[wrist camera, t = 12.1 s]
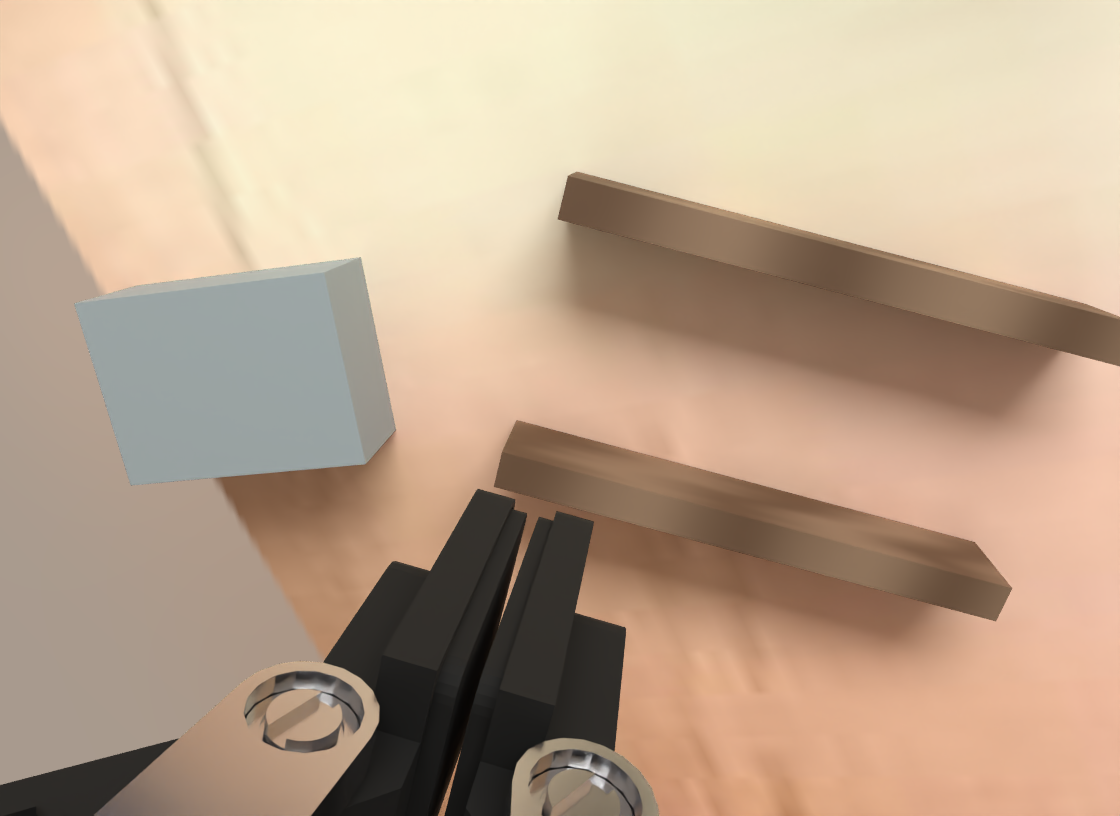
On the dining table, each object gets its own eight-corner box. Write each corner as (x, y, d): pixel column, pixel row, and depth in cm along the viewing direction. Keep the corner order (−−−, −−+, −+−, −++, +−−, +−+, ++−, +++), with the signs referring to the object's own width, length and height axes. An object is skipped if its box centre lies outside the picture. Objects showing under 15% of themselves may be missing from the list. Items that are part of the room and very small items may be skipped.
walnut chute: (1085, 304, 25) (1141, 325, 22) (960, 572, 28) (995, 621, 25) (577, 171, 25) (568, 175, 22) (509, 451, 28) (494, 486, 26)
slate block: (363, 256, 27) (323, 272, 24) (398, 427, 29) (365, 464, 26) (141, 284, 28) (74, 303, 25) (188, 447, 30) (130, 485, 27)
